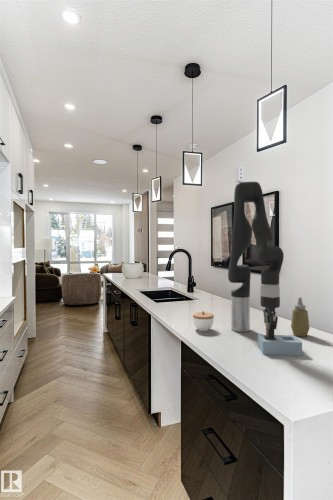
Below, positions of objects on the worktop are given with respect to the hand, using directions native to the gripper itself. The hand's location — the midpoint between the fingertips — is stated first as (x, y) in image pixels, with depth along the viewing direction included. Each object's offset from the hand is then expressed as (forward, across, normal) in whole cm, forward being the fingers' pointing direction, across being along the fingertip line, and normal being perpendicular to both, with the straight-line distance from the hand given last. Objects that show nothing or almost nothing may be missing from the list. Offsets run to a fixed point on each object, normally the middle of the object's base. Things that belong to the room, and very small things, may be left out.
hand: (270, 336), depth 119 cm
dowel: (+2, 0, 0) cm, 2 cm away
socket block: (+6, 0, +4) cm, 7 cm away
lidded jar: (+6, -28, -26) cm, 39 cm away
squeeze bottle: (+6, -22, +20) cm, 30 cm away
